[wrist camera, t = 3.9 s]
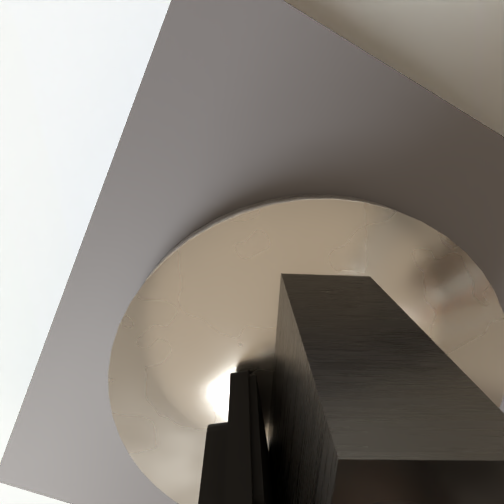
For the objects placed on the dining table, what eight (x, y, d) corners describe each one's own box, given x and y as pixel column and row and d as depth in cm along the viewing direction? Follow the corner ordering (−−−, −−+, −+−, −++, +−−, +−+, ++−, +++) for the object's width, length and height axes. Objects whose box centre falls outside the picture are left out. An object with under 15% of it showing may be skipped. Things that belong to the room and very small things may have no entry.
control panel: (205, -2, 10) (191, -62, 7) (579, 221, 13) (682, 244, 10) (40, 416, 15) (-10, 485, 12) (340, 519, 18) (361, 596, 15)
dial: (104, 184, 9) (-196, 273, 3) (534, 203, 10) (1071, 312, 3) (131, 506, 13) (27, 854, 6) (441, 507, 13) (618, 827, 7)
